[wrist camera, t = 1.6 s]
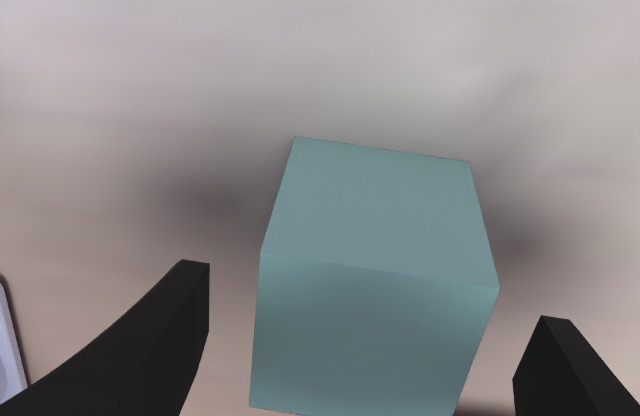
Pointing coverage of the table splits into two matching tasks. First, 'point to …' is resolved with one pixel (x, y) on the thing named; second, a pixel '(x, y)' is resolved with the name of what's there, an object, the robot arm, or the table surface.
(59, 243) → the table surface
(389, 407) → the block
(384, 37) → the table surface
